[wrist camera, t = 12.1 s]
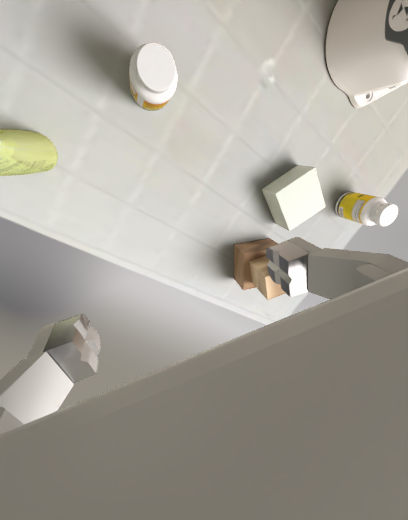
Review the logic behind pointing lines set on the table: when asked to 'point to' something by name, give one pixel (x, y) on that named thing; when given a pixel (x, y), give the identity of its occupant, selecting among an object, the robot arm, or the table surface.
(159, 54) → the supplement bottle
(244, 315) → the table surface
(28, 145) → the tube
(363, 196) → the supplement bottle
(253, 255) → the walnut block
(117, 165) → the table surface
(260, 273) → the oak block
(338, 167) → the table surface
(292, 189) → the white block
